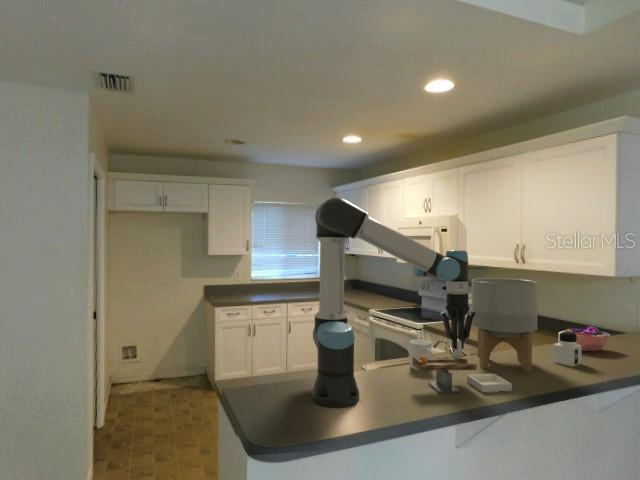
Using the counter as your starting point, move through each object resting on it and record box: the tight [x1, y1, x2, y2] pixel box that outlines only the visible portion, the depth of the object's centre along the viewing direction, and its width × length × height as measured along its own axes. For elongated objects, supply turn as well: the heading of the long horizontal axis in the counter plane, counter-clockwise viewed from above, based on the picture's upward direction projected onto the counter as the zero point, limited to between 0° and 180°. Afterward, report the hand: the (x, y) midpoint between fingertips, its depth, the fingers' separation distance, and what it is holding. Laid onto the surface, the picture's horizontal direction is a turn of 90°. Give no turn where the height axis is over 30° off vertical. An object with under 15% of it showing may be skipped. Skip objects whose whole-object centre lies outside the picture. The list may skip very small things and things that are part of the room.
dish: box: [466, 373, 513, 394], centre depth 147 cm, size 11×11×3 cm
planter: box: [471, 277, 538, 373], centre depth 175 cm, size 25×25×34 cm
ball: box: [419, 355, 428, 365], centre depth 143 cm, size 3×3×3 cm
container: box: [552, 330, 582, 367], centre depth 176 cm, size 8×8×13 cm
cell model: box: [563, 325, 611, 352], centre depth 197 cm, size 17×20×11 cm
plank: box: [412, 356, 478, 372], centre depth 147 cm, size 20×13×3 cm, turn 98°
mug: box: [409, 339, 434, 371], centre depth 166 cm, size 12×8×10 cm
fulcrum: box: [427, 371, 461, 395], centre depth 144 cm, size 7×10×7 cm
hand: (457, 357), depth 152 cm, fingers closed
